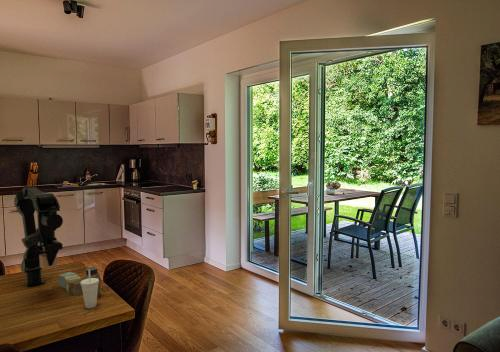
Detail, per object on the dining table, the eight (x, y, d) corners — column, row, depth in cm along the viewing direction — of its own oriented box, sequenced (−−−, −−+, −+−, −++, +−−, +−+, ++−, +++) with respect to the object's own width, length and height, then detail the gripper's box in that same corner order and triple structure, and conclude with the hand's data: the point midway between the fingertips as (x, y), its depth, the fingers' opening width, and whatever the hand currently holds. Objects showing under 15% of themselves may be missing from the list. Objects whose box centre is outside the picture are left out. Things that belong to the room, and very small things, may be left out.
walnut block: (68, 293, 150) (68, 281, 150) (80, 290, 154) (80, 278, 154) (75, 296, 147) (74, 284, 147) (87, 292, 151) (86, 280, 151)
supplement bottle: (94, 299, 144) (93, 271, 143) (81, 298, 145) (79, 270, 144) (103, 293, 149) (102, 266, 149) (90, 293, 151) (89, 265, 150)
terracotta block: (39, 266, 148) (39, 254, 147) (53, 263, 151) (52, 251, 151) (43, 269, 144) (42, 257, 144) (57, 266, 147) (56, 254, 147)
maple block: (65, 289, 156) (64, 277, 155) (78, 286, 159) (77, 274, 158) (68, 292, 152) (67, 280, 151) (81, 289, 155) (80, 277, 154)
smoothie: (82, 311, 134) (80, 273, 132) (81, 304, 139) (79, 268, 138) (101, 307, 136) (99, 270, 135) (99, 301, 142) (97, 265, 141)
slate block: (59, 286, 159) (58, 275, 158) (70, 282, 163) (69, 271, 163) (66, 288, 156) (66, 277, 156) (77, 284, 161) (76, 273, 160)
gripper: (17, 225, 148) (19, 263, 149) (29, 232, 134) (31, 274, 135) (48, 221, 155) (50, 257, 156) (62, 227, 142) (64, 267, 143)
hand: (48, 264), depth 147 cm, fingers closed on terracotta block, 5 cm apart
